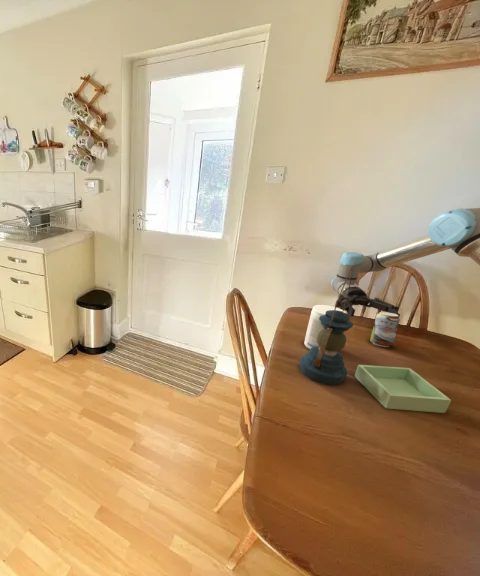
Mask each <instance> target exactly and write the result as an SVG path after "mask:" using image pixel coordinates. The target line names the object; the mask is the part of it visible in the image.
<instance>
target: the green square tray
mask: <svg viewBox="0 0 480 576" xmlns="http://www.w3.org/2000/svg"><path fill="white" fill-rule="evenodd" d="M354 373H355V374H354V377H355V379H357V381H359V383H360V384H361V385H362V386H364V388H366V390H367V391H368V392H369V393H370V394H371V395H372V396H373V397H374V398H375V399H376V400H377V401H378V402H379V404H381V405H382V406H383V408H385V409H392V410H402V411H403V410H404V411H415V412H416V411H417V412H427V413H428V412H430V413H439V414H440V413H441V414H446V413H447V411H448V408H449V407H450V404H451V401H452V399H450V398H449V397H448V396H447V395H446V394H444V393H443V392H442V391H440V390H439V389H437V388H436V387H435V386H434V385H433V384H431V383H430V382H428V381H427V379H425V378H424V377H422V376H421V375H420V374H418V373H417V371H414V370H413V369H412V368H411V367H401V366H383V365H371V364H370V365H369V364H358V365H357V368H356V371H355V372H354Z"/></svg>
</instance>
